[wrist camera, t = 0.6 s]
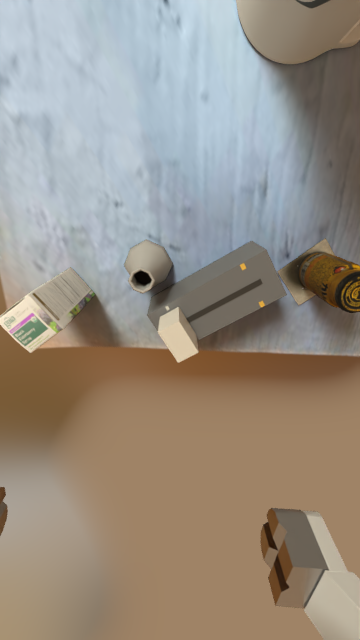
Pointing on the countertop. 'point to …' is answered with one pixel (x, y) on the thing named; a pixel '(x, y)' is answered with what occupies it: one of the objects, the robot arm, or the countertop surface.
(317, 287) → the condiment
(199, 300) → the console
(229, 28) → the countertop surface
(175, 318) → the fader
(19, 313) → the syrup box
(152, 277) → the flask
